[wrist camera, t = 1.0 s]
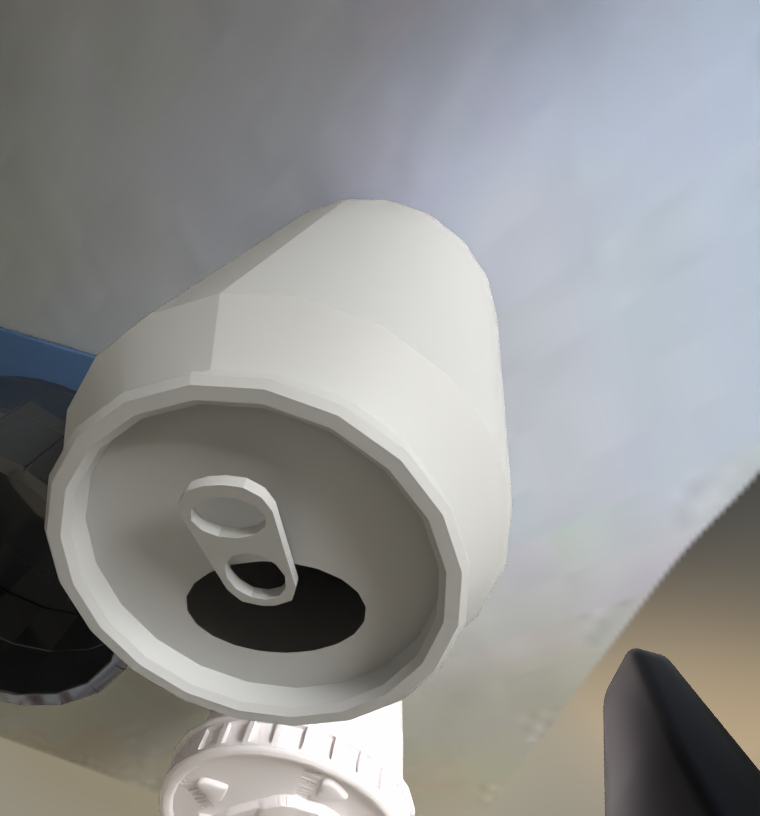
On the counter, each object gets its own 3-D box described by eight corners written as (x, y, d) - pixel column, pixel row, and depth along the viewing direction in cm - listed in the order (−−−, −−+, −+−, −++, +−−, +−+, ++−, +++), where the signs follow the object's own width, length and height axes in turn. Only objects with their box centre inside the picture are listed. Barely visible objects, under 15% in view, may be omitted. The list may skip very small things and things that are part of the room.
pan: (-93, 546, 27) (-194, 624, 23) (-69, 320, 22) (-193, 369, 18) (151, 652, 28) (95, 747, 24) (230, 458, 23) (176, 536, 19)
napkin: (-99, 584, 28) (-103, 588, 28) (-139, 285, 22) (-144, 287, 21) (204, 677, 28) (202, 680, 28) (255, 403, 21) (253, 405, 21)
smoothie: (440, 638, 25) (400, 1182, 12) (283, 631, 26) (99, 1126, 13) (432, 500, 22) (370, 1021, 10) (257, 499, 23) (-5, 967, 11)
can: (284, 436, 22) (95, 760, 11) (229, 212, 19) (-106, 363, 8) (505, 420, 20) (534, 774, 10) (485, 175, 17) (495, 297, 7)
